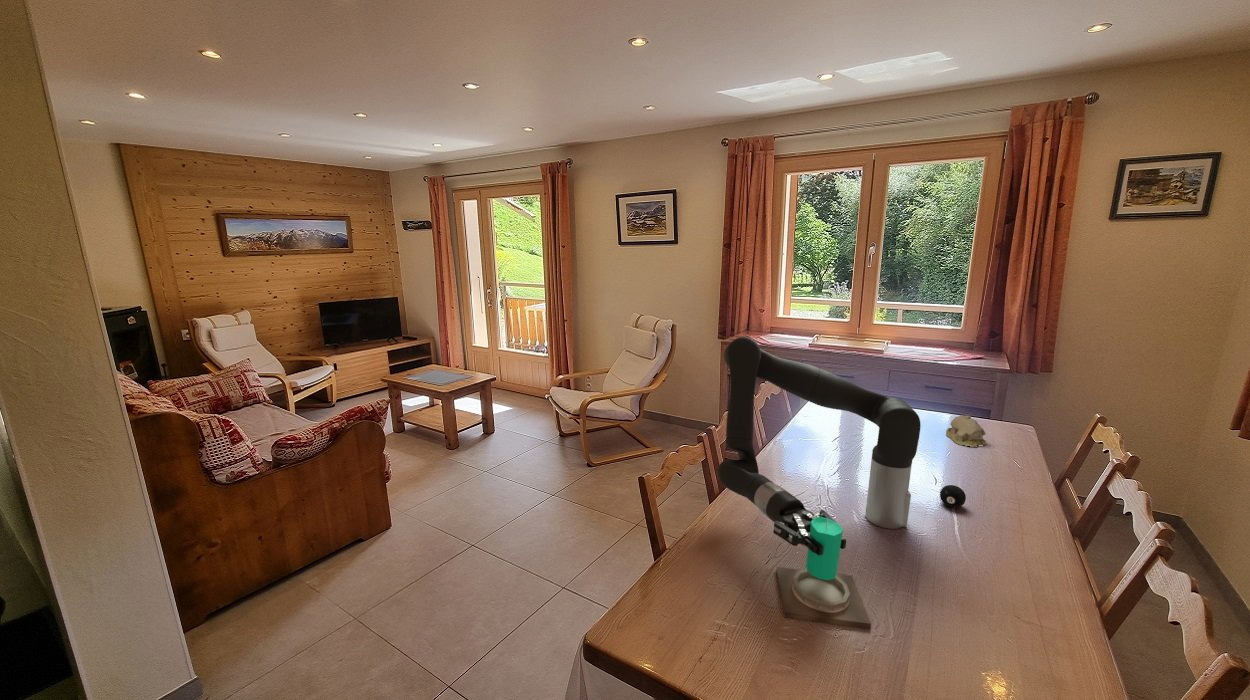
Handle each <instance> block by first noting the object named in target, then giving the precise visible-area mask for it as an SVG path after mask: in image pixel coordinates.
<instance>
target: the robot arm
mask: <svg viewBox="0 0 1250 700" xmlns="http://www.w3.org/2000/svg"><path fill="white" fill-rule="evenodd" d="M723 357H724V362H725V364H726V366H727V367H728V368H729V376H730V394H729V401H728V406H727V407H728V408H727V414H726V425H725V427H726V429H725V430H726V431H725V432H726V433H725V446H726V447H727V449H729V450H732V451H736V452H737V455H738V458H739V459H725V460H722V462H720V463H719V465H718V467H717V476H718V480H719V481H720V483H721V484H722V485H723V486H724V487H725V488H726V489H728V490H729V491H732V492H734V493H735V494H737V495H740V496H741V497H744V498H746V499H747V500H749V501H750V502H751V503H752V504H753V505H755V506H756V507H757V508H758V510H759V511H760V512H761V513H762V514H764V515H765V516H766V517H767V518H768V519H769V520H771V522H773V530H772V531H773V534H775V535H776V536H778V537H779V538H781V539H782V540H783V541H786V543H788V544H790V545H792V546H793V547H797V546H798V545H801V546H803V547H806V548H807V549H808V548H809V549H810V550H811V551H812V552H813V553H815V554H817V555H818V556H819V555H822V554H823V546H822V545H821V544H820V543H819V542H818V541H816V540H815V539H814V538H813V537H811V536H809V534H810V527H811V521H812V520H813V519H814V518H817V517H824V518H827V519H830V520H832V521H834V522H836V523H837V524H839V523H838V522H837V520H835V519H834V518H833V517H832V516H831V515H830V514H829V513H827V512H826V511H825V510H824V509H820V510H819V513H814V512H812V511H810V510H807V509H806V507H805V506H804V503H803V502H802V501H801V500H800V499H799V498H797V497H796V496H794V495H793V494H791V493H790V491H787V490H786V489H785V488H783V487H782V486H780V485H778V484H776V483H775V482H773V481H772V480H770V479H769V478H768V477H766V476H764V475H763V474H760V473H759V465H758V461H757V457H756V451H755V448H754V416H755V415H754V414H755V411H754V410H755V408H754V407H755V401H754V400H755V389H756V381H757V378H758V379H760V380H763V381H765V382H768V383H770V384H772V385H774V386H776V387H778V388H780V389H782V390H784V391H785V392H788V393H789V394H792V395H794V396H796V397H799V398H800V399H802V400H805V401H807V402H810V403H812V404H815V405H817V406H820V407H823V408H826V409H830V410H831V409H832V410H838V411H844V412H849V413H852V414H854V415H858V416H859V417H862V418H864V419H866V420H868V422H869V421H870V422H871V423H873V424H875V425H876V426H877V427H878V434H877V435H878V436H877V442H876V445H874V447H873V449H872V451H871V452H872V453H871V459H870V460H871V462H870V468H869V469H870V470H869V478H868V479H869V480H868V485H867V486H868V489H867V497H866V503H865V506H866V507H865V514H864V515H865V518H866V520H867V521H869V522H870V523H872V524H873V525H875V526H878V527H880V528H883V529H890V530H891V529H892V530H893V529H894V530H896V529H897V530H898V529H901V528H907V527H908V521H909V520H908V519H909V513H910V512H909V511H910V507H911V498H912V497H911V496H912V494H911V492H910V491H909V488H910V480H911V472H912V465H913V460H914V458H915V457H916V454H917V452H918V446H919V442H920V441H919V439H920V434H921V419H920V416H919V415H918V413H917V412H916V410H914V409H913V408H912V407H911V406H910V405H909V404H908V403H907V402H906V401H904V400H902V399H899V398H896V397H894V396H890V395H885V394H882V393H880V392H876V391H872V390H868V389H866V388H864V387H861V386H859V385H857V384H855V383H854V382H853V381H852V382H851V381H849V380H847V379H846V378H843V377H841V376H839V375H837V374H834V373H833V372H830V371H827V370H824V369H822V368H819V367H818V366H815V365H811V364H808V363H804V362H799V361H795V360H790V359H786V358H782V357H778V356H776V355H773V354H771V353H770V352H767V351H765V350H763V349H761V347H760V345H759V344H758V342H757V341H756V340H755V339H753V338H751V337H750V336H749V337H748V336H740V337H736V338H735V339H732V341H730V343H728V345H727V346H726V348H725V350H724V353H723ZM808 533H809V534H808ZM790 536H791V537H790ZM846 547H847V539H846V537H844V536H843V535H842V540H841V547H840V550H843V549H846Z"/></svg>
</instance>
